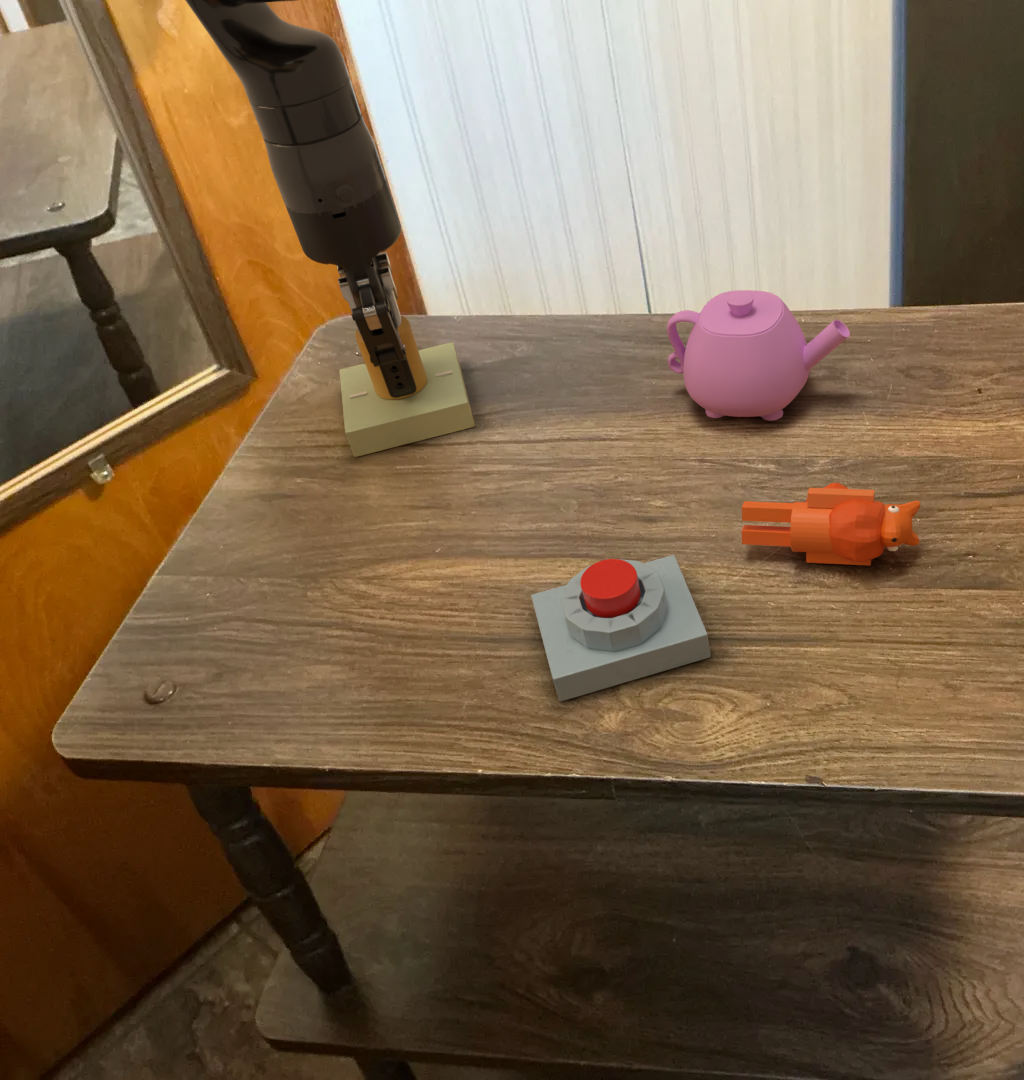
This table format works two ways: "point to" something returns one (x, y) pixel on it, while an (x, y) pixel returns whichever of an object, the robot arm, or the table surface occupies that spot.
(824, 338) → the teapot
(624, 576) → the bell button
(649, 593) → the grey button base
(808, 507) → the orange fox minifigure
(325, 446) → the table surface
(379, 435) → the plate
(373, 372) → the lock knob
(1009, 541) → the table surface
